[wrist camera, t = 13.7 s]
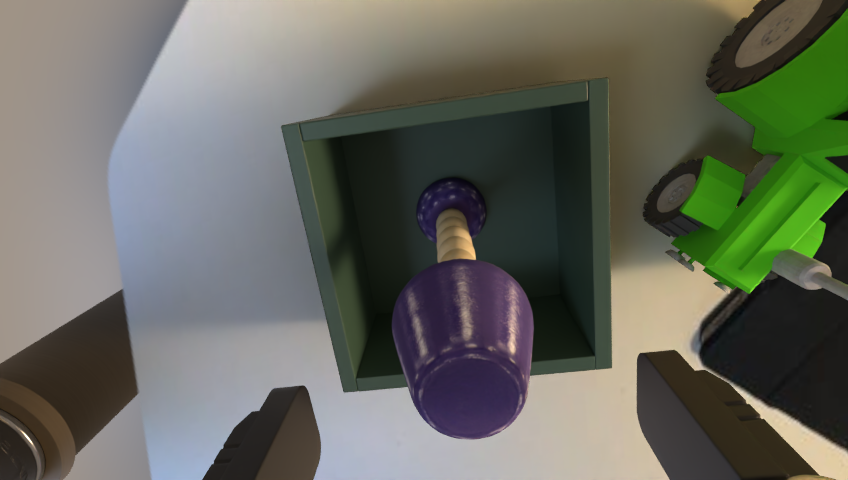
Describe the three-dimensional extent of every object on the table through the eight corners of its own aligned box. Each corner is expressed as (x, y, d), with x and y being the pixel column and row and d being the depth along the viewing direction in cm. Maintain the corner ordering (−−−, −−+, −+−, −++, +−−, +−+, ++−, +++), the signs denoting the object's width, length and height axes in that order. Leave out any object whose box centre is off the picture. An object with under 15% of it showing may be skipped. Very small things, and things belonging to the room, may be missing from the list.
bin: (368, 318, 31) (343, 393, 23) (327, 115, 26) (280, 125, 19) (569, 297, 29) (612, 368, 22) (559, 81, 25) (609, 77, 18)
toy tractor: (596, 208, 27) (676, 270, 18) (793, -57, 23) (1046, -164, 13) (733, 293, 29) (875, 392, 19) (947, 60, 24) (1276, 40, 14)
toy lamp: (508, 207, 27) (600, 376, 11) (464, 267, 28) (489, 495, 12) (441, 163, 26) (435, 276, 10) (399, 227, 27) (337, 413, 12)
